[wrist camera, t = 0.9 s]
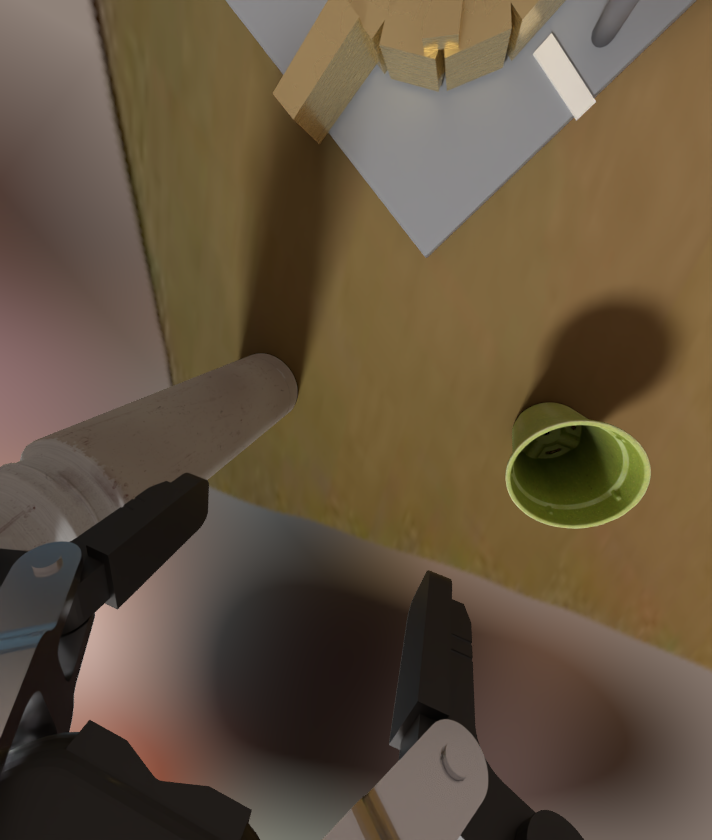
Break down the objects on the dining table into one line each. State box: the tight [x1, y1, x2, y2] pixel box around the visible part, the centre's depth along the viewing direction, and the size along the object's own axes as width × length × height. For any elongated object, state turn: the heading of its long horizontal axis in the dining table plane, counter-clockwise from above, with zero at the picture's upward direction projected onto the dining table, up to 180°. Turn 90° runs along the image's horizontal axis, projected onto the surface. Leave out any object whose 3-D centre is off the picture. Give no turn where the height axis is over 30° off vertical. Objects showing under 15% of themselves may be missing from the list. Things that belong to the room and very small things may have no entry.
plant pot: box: [505, 402, 651, 529], centre depth 28 cm, size 9×9×9 cm
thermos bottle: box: [0, 353, 297, 551], centre depth 27 cm, size 8×8×28 cm
